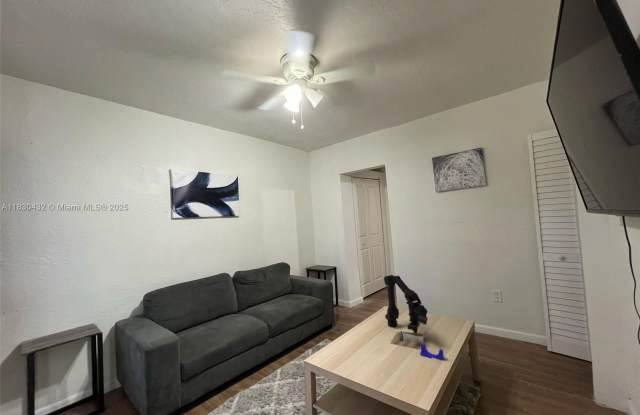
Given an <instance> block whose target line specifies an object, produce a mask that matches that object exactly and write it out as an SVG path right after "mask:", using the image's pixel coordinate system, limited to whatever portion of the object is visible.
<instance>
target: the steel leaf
mask: <svg viewBox="0 0 640 415" xmlns="http://www.w3.org/2000/svg"><path fill="white" fill-rule="evenodd" d="M398 332H399V333H400V341H405V342H410V343H415V344H420V345H422V344H424V341H423V337H424V336H423V337H422V336H417V335H411V334H405V333H403V332H404V331H403V330H399V331H398Z"/></svg>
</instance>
